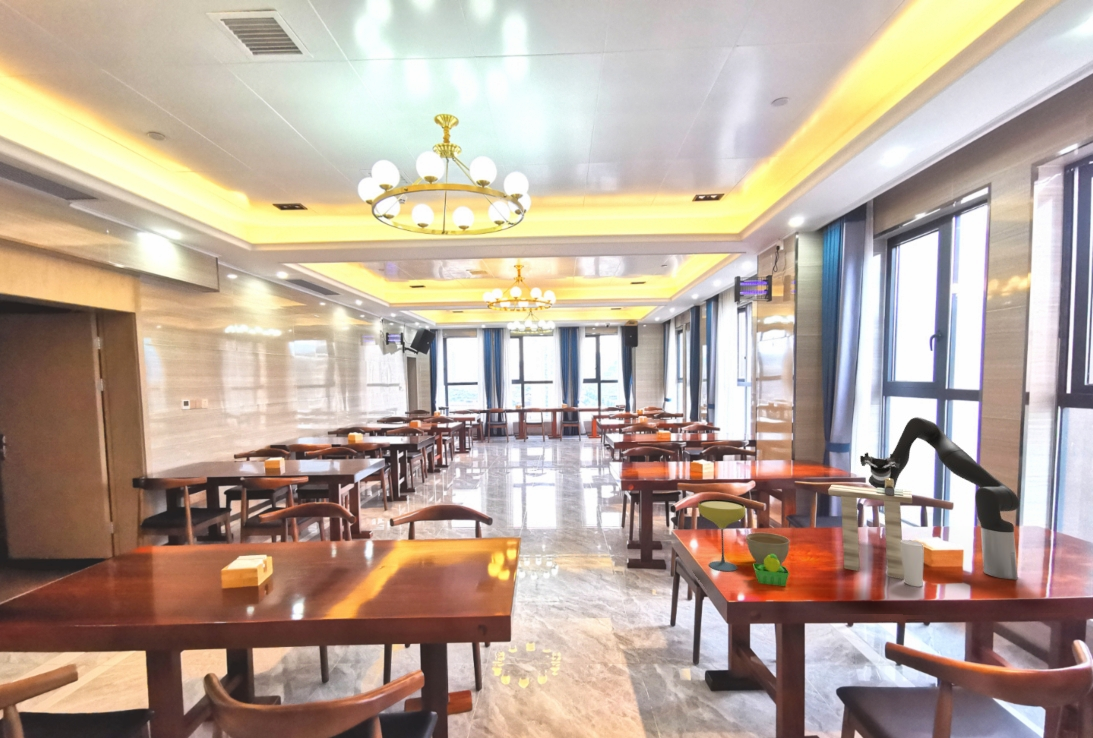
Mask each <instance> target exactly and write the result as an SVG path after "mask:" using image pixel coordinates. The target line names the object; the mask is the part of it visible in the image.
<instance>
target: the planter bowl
mask: <svg viewBox="0 0 1093 738" xmlns="http://www.w3.org/2000/svg"><path fill="white" fill-rule="evenodd" d="M745 539H746V542H747V543H746V544H747V549H748V551H749V553H750V555H751V556H752V558H753V559H754V561H755V564H764V559H765V558H766V557H767V556H768V555H770V554H774V555H776V557H777V558H778V560H779V562H780V566H783V563H784V562H785V561H786V559H787V556H788V554H789V550H790V539H789V538H787V537H786V536H785V535H784V536H783V535H780V534H776V533H770V532H752V533H748V534H746V536H745Z"/></svg>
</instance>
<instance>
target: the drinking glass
mask: <svg viewBox="0 0 1093 738" xmlns="http://www.w3.org/2000/svg"><path fill="white" fill-rule="evenodd" d="M900 552H901V559H902V565H903V572H904V579H903V580H904V581H903V582H904V583H905V584H907V585H909V586H910V587H916V588H918V587H919V588H921V587H923V585H924V580H923V579H924V563H925V562H924V561H925V560H924V559H925V557H924V556H925V555H924V554H925V553H924V552H925V549H924V544H923V543H922V542H919V541H915V540H911V539H910V540H909V539H902V540H901V541H900Z"/></svg>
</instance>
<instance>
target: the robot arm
mask: <svg viewBox="0 0 1093 738" xmlns="http://www.w3.org/2000/svg"><path fill="white" fill-rule="evenodd" d="M918 439H919V440H922V441H924V442H925V443H927V444H929V446H931V447H932V449H934V450H935V451H936V453H937V457H938V459H939V461H940V462H941V463H942V464H943V465H944V466H945V467H946V468H947V469H948V470H949V471H950V472H951V473H952V474H955V475H956V476H957V477H959V478H960V479H961V478H962V479H964V480H965V481H968V482H969V483H972V484H974V485H976V486H977V487H978V489H977V490H976V492H975V497H974V498H975V507H976V514H977V518H978V519H977V520H978V521H979V523H980V535H981V549H982V565H983V566H982V567H983V573H984V574H987V575H989V576H992V577H995V578H1000V579H1005V580H1007V579H1008V580H1015V581H1017V580H1018V567H1017V566H1018V565H1017V562H1018V561H1017V552H1016V543H1015V527H1014V524H1013V523H1012V522H1010V521H1008V520H1004V519H1003V518H1002V516H1001V515H1002V514H1001V512H1012V511H1015V510H1017V509H1018V508H1019V506H1020V499H1019V498H1018V496H1017V494H1016V493H1015V492H1014V491H1013V490H1012V489H1011V488H1009V486H1007V485H1006V484H1004V483H1003V482H1002V481H1000V480H999V479H997V478H996V476H995V477H994V476H993V475H992V474H991V473H990V472H988V471H987V470H986V469H985V468H984V467H982V466H981V465H980V464H979V463H978V462H977V461H976V460H974V459H973V458H972V456H971V455H969V454H968V452H966V451H964V449H962V448H961V447H960V446H959V445H958V444H956V443H955V442H953V440H951V439H950V438H949V437H948V436H947V435H946V434H945V432H943V430H942V429H941V428H940V427H939V426H938V425H937V424H936V423H935V422H933V421H931V420H928V419H926V418H922V417H918V416H915V417H912V418H911V419H910V420H909V421H907V423H906V425H905V426H904V429H903V431H902V433H901V436H900V437H899V439H898V442H897V444H896V445H895V448H894V450H893V451H892V453H889V457H885V458H878V457H873V456H869V452H865V453H864V455H860V456H859V459H860V464H861V466H863V467H865V466H866V465H868V466H870V473H871V475H870V477H869V478H868V484H870V485H871V486H872V487H873V488H885V478H890V479H893V480H894V489H896V487H897V486H896V485H897V482H898V479H899V477H900V475H901V473H902V472H903V470H904V469H905V468H906V466H907V465H908V462H909V459H910V453H911V452H910V451H911V447H912V445H913V444H914V442H915V441H916V440H918Z"/></svg>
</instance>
